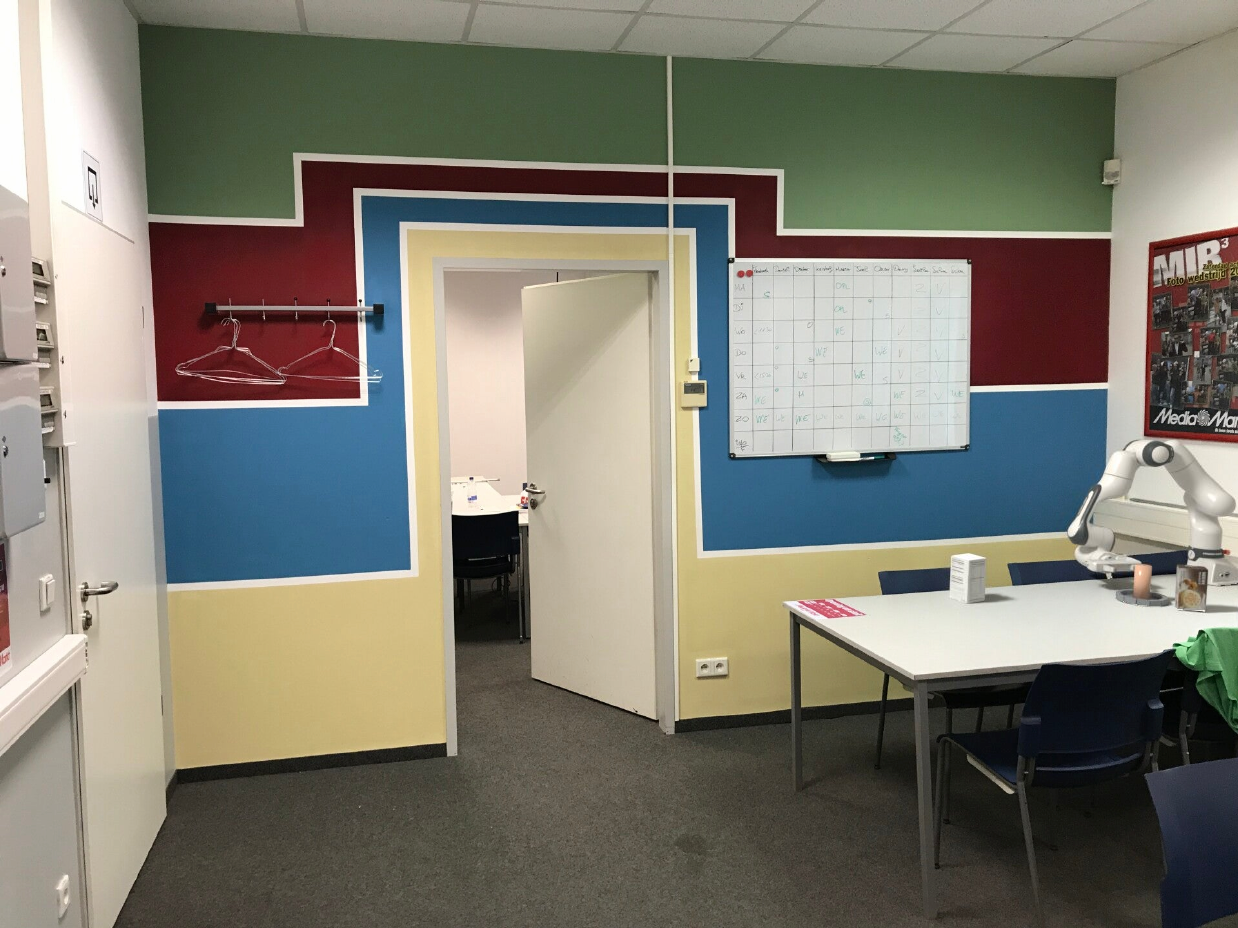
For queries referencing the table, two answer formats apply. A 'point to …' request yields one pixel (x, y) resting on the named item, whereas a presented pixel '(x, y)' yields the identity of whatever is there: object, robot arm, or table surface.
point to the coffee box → (1191, 587)
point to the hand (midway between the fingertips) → (1126, 569)
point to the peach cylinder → (1142, 581)
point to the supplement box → (968, 578)
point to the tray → (1155, 599)
